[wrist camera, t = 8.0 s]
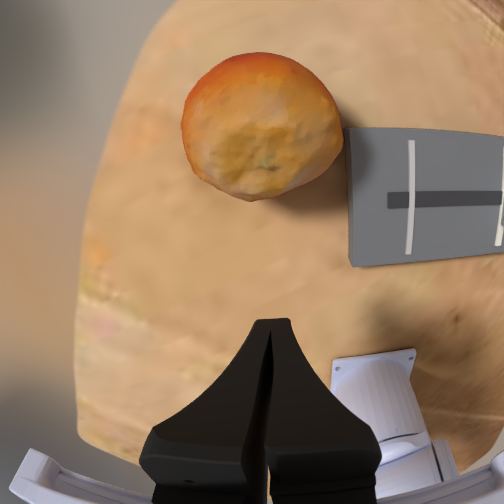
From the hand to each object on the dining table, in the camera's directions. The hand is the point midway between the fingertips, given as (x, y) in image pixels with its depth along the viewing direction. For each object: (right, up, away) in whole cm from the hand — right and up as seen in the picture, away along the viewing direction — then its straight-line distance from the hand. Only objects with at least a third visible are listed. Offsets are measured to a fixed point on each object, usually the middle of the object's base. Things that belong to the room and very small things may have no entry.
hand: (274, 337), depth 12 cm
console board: (+13, +8, +6) cm, 17 cm away
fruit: (0, +11, +6) cm, 13 cm away
